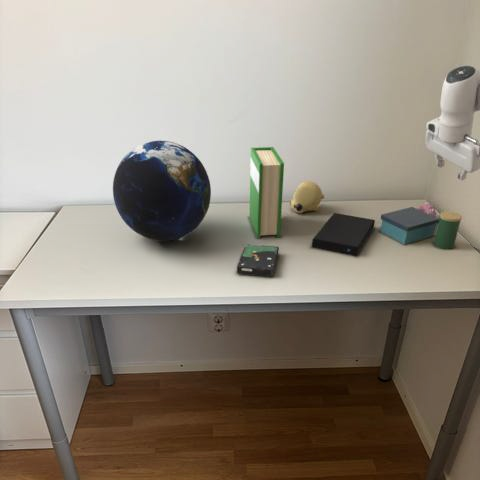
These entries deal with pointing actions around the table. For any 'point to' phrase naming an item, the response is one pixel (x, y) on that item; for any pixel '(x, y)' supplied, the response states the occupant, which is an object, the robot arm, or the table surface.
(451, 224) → the tea tin
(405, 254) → the table surface
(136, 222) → the globe
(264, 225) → the hardback book
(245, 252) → the disk drive
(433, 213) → the video game controller
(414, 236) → the storage box
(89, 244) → the table surface
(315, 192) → the toy pig
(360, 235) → the external hard drive
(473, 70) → the robot arm
